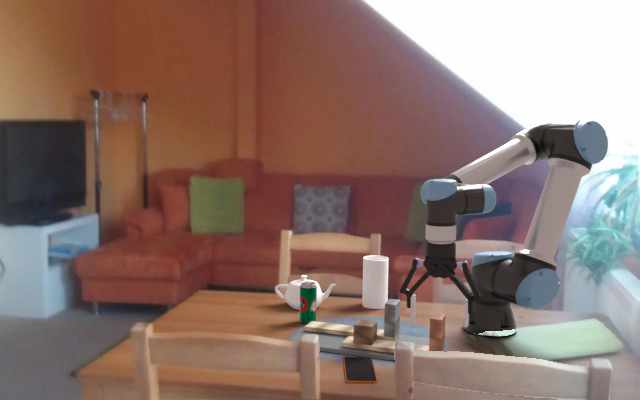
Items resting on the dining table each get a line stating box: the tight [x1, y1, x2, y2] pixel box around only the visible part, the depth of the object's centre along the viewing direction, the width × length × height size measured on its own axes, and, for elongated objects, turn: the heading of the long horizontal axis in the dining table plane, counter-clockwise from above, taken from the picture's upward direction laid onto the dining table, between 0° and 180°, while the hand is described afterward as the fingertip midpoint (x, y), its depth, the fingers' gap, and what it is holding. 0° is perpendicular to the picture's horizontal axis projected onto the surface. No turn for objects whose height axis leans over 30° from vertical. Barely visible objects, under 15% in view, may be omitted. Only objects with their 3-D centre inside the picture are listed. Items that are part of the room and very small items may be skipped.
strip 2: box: [342, 312, 447, 353], centre depth 178 cm, size 26×6×10 cm, turn 70°
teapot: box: [274, 274, 337, 311], centre depth 222 cm, size 20×12×10 cm, turn 84°
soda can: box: [299, 281, 318, 325], centre depth 205 cm, size 5×5×12 cm
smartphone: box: [343, 356, 379, 384], centre depth 167 cm, size 8×17×1 cm, turn 0°
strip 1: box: [304, 298, 401, 342], centre depth 191 cm, size 26×6×10 cm, turn 70°
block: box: [353, 319, 378, 346], centre depth 181 cm, size 5×5×5 cm
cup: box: [361, 254, 389, 310], centre depth 223 cm, size 8×8×16 cm
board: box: [288, 326, 429, 361], centre depth 186 cm, size 39×18×1 cm, turn 70°
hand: (439, 323), depth 174 cm, fingers open, 13 cm apart
